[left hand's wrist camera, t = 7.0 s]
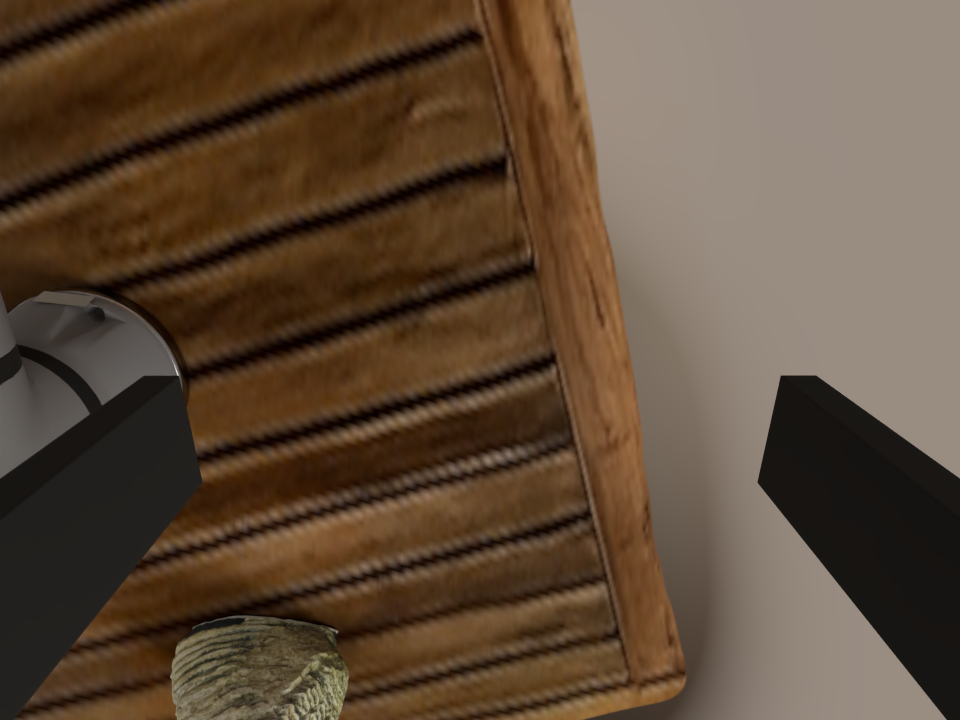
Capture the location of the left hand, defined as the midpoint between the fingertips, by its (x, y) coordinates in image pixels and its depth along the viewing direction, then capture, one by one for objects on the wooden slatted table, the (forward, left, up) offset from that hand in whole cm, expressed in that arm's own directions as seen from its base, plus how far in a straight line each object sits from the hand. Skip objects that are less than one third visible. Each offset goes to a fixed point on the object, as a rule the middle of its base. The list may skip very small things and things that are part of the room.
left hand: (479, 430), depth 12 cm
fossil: (-36, -34, -34) cm, 61 cm away
